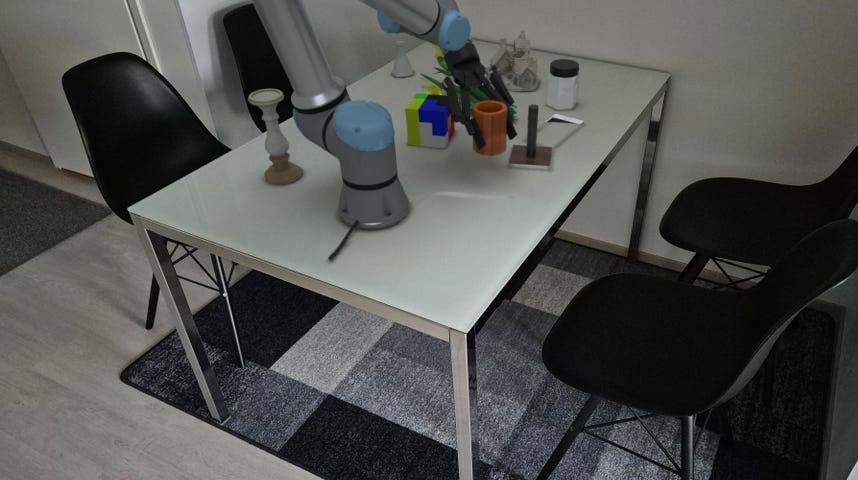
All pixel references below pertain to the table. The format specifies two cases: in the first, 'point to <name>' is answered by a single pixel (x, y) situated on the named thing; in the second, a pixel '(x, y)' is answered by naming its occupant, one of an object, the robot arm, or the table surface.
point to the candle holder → (275, 139)
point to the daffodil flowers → (436, 89)
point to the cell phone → (564, 119)
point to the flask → (401, 62)
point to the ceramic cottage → (516, 65)
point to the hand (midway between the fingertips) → (498, 142)
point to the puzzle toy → (429, 121)
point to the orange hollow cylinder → (491, 126)
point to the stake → (531, 144)
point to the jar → (563, 84)
